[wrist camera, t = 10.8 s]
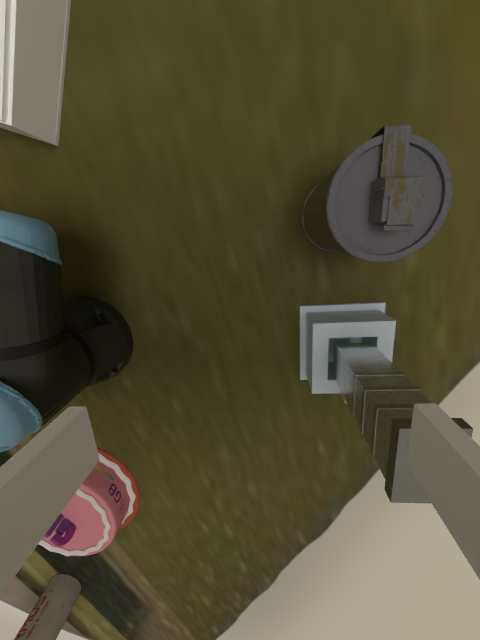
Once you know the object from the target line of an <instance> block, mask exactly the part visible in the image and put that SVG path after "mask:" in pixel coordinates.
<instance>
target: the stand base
mask: <svg viewBox="0 0 480 640" xmlns="http://www.w3.org/2000/svg"><path fill="white" fill-rule="evenodd" d="M385 305H386V303H385V302H366V303H342V304H319V305H299V330H300V380H308V382H309V385H310V389H311V392H312V394H318V393H342V392H341V390H340V388H339V386H338V384H337V382H336V380H335V378H334V348H335V344H344V343H373V344H374V345H375V346H376V347H377V348H378V349H379V350H380V351H381V352H382V353H383V354H384V355H385V356H386V357H387V358H388V359H389V360H390V361H391V362H392V355H393V345H394V336H395V326H396V320H394V319H392V318H391V317H389V316H388V315H386V314H385ZM341 396H342V398H343V400H344V403H347V402H346V400H345V398H344V396H343V394H341Z"/></svg>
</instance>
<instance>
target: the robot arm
mask: <svg viewBox="0 0 480 640" xmlns="http://www.w3.org/2000/svg"><path fill="white" fill-rule="evenodd" d="M61 265H62V261H61V260H60V257H59V249H58V241H57V235H56V233H55V231H54V229H53V228H52V227H51V226H50V225H49V224H47V223H46V222H44V221H42V220H39V219H35V218H31V217H27V216H23V215H18V214H14V213H9V212H5V211H0V452H2V451H6V450H8V449H10V448H12V447H14V446H16V445H17V444H19V443H20V442H21V441H22V440H24V439H25V438H26V437H28V436H29V435H30V434H33V433H35V432H36V431H38V430H39V429H40V428H41V426H43V425H44V424H45V423H46V422H47V421H48V420H49V419H50V418H52V417H53V416H54V415H55V414H56V413H57V412H58V411H59V410H61V409H62V408H63V407H64V406H65V405H66V404H67V403H68V402H70V401H71V400H72V399H73V398H74V397H75V396H76V395H77V394H79V393H80V392H81V391H82V390H83V389H84V388H85V387H87V386H90V385H93V384H96V383H99V382H102V381H105V380H108V379H110V378H112V377H113V376H115V375H116V374H117V373H118V372H119V371H121V370H122V369H123V368H124V367H125V365H126V364H127V363H128V361H129V359H130V357H131V354H132V348H133V342H132V335H131V332H130V329H129V327H128V325H127V323H126V321H125V320H124V319H123V317H122V316H121V315H120V314H119V313H118V312H117V311H116V310H115V309H114V308H113V307H111V306H110V305H108V304H106V303H105V302H102V301H100V300H97V299H94V298H87V297H80V298H74V299H71V300H68V301H65V302H63V291H62V276H61ZM99 460H100V458H99V455H98V451H97V447H96V443H95V439H94V435H93V431H92V427H91V423H90V419H89V416H88V412H87V408H86V407H68V408H67V409H66V410H65V411H64V412H63V413H61V414H60V415H59V416H58V417H57V418H56V419H55V420H54V421H52V422H51V423H50V424H49V425H48V426H47V427H46V428H44V429H43V430H42V431H41V432H40V433H39V434H38V435H37V436H35V437H34V438H33V439H32V440H31V441H30V442H29V443H27V444H26V445H25V446H24V447H23V448H22V449H21V450H20V451H18V452H17V453H16V454H15V455H14V456H13V457H12V458H10V459H9V460H8V461H7V462H6V463H5V464H4V465H2V466H1V467H0V596H1V594H2V593H3V592H4V590H5V589H6V587H7V586H8V585H9V583H10V582H11V581H12V579H13V578H14V577H15V575H16V574H17V572H18V571H19V570H20V568H21V567H22V566H23V564H24V563H25V561H26V560H27V559H28V557H29V556H30V555H31V553H32V552H33V550H34V549H35V548H36V546H37V545H38V544H39V542H40V541H41V540H42V538H43V537H44V535H45V534H46V533H47V531H48V530H49V529H50V527H51V526H52V524H53V523H54V522H55V520H56V519H57V518H58V516H59V515H60V513H61V512H62V511H63V509H64V508H65V507H66V505H67V504H68V502H69V501H70V500H71V498H72V497H73V496H74V494H75V493H76V492H77V490H78V489H79V487H80V486H81V485H82V483H83V482H84V481H85V479H86V478H87V476H88V475H89V474H90V472H91V471H92V470H93V468H94V467H95V465H96V464H97V463H98V461H99ZM406 463H407V465H408V466H409V468H410V470H411V471H412V473H413V474H414V476H415V477H416V479H417V481H418V482H419V484H420V485H421V487H422V489H423V490H424V492H425V493H426V495H427V497H428V498H429V500H430V501H431V503H432V504H433V506H434V508H435V509H436V511H437V512H438V514H439V516H440V517H441V519H442V520H443V522H444V524H445V525H446V527H447V528H448V530H449V531H450V533H451V535H452V536H453V538H454V539H455V541H456V543H457V544H458V546H459V547H460V549H461V551H462V552H463V554H464V555H465V557H466V558H467V560H468V562H469V563H470V565H471V566H472V568H473V570H474V571H475V573H476V574H477V576H478V577H479V579H480V446H479V445H478V444H477V443H476V442H475V441H474V440H473V439H472V438H471V437H470V436H469V435H468V434H467V433H466V432H465V431H463V430H462V429H461V428H460V427H459V426H458V425H457V424H456V423H455V422H454V421H453V420H452V419H451V418H450V417H449V416H448V415H447V414H446V413H445V412H444V411H443V410H442V409H441V408H440V407H439V406H438V405H437V404H414V409H413V416H412V424H411V431H410V439H409V446H408V454H407V461H406Z"/></svg>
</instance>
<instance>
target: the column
mask: <svg viewBox="0 0 480 640" xmlns="http://www.w3.org/2000/svg"><path fill="white" fill-rule="evenodd" d="M334 378H335V380H336V382H337V384H338V386H339V388H340V390H341V392H342V394H343V396H344V398H345V400H346V402H347V404H348V406H349V408H350V410H351V413H352V415H353V416H354V418H355V420H356V422H357V424H358V426H359V428H360V431H361V433H362V434H363V436H364V438H365V440H366V442H367V444H368V446H369V448H370V451H371V453H372V455H373V456H374V458H375V460H376V462H377V464H378V466H379V468H380V470H381V471H382V474H383V476H384V478H385V479H386V481H385V491H386V493H387V495H388V497H389V499H390V502H400V503H402V502H403V503H431V501H430V500H429V498H428V497H427V495H426V493H425V492H424V490H423V489H422V487H421V485H420V484H419V482H418V481H417V479H416V477H415V476H414V474H413V473H412V471H411V470H410V468H409V466H408V465H407V463H406V461H407V454H408V446H409V439H410V431H411V424H412V416H413V409H414V404H433V403H432V402H431V401H430V400H429V399H428V398H427V397H426V396H425V395H424V394H423V393H422V392H421V391H420V389H419V388H418V387H417V386H415V385H414V384H413V383H412V382H411V381H410V380H409V379H408V378H407V377H406V376H405V374H404V373H403V372H401V371H400V370H399V369H398V368H397V367H396V366H395V365H394V364H393V363H392V362H391V361H390V360H389V359H388V358H387V357H386V356H385V355H384V354H383V353H382V352H381V351H380V350H379V349H378V348H377V347H376V346H375V345H374V344H373V343H344V344H335V348H334ZM451 419H452V420H453V421H454V422H455V423H456V424H457V425H458V426H459V427H460V428H461V429H462V430H463V431H465V432H466V433H467V434H468V435H469V436H470V437H471V436H472V432H473V428H472V427H471V426H470V425H468V424H467V423H466V422H465V421H464V420H463V419H462V418H451Z"/></svg>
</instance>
